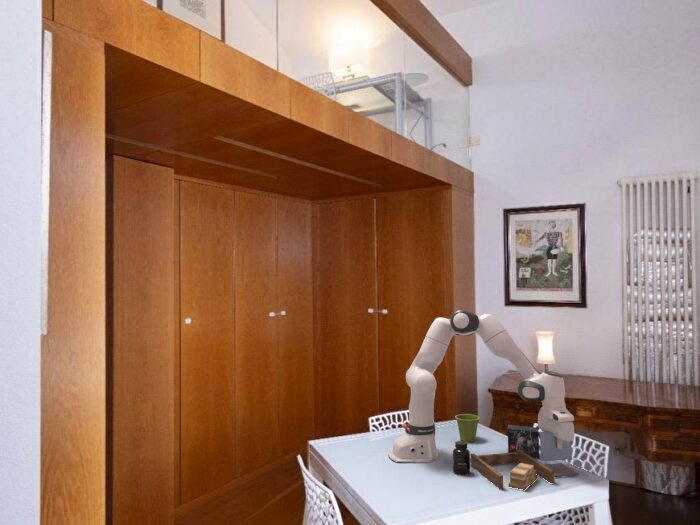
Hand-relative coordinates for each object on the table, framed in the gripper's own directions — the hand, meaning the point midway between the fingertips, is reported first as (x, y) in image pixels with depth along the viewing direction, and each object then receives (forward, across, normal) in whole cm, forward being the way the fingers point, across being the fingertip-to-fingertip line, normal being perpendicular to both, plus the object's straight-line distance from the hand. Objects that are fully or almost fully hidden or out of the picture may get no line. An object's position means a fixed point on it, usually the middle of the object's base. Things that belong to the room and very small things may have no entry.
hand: (555, 446), depth 203 cm
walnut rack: (+10, -1, -20) cm, 22 cm away
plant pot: (+10, -47, -18) cm, 51 cm away
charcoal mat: (+10, 0, 0) cm, 10 cm away
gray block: (+5, 0, 0) cm, 5 cm away
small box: (+10, -21, -3) cm, 23 cm away
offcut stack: (+10, +8, -20) cm, 24 cm away
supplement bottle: (+10, -8, -38) cm, 40 cm away
